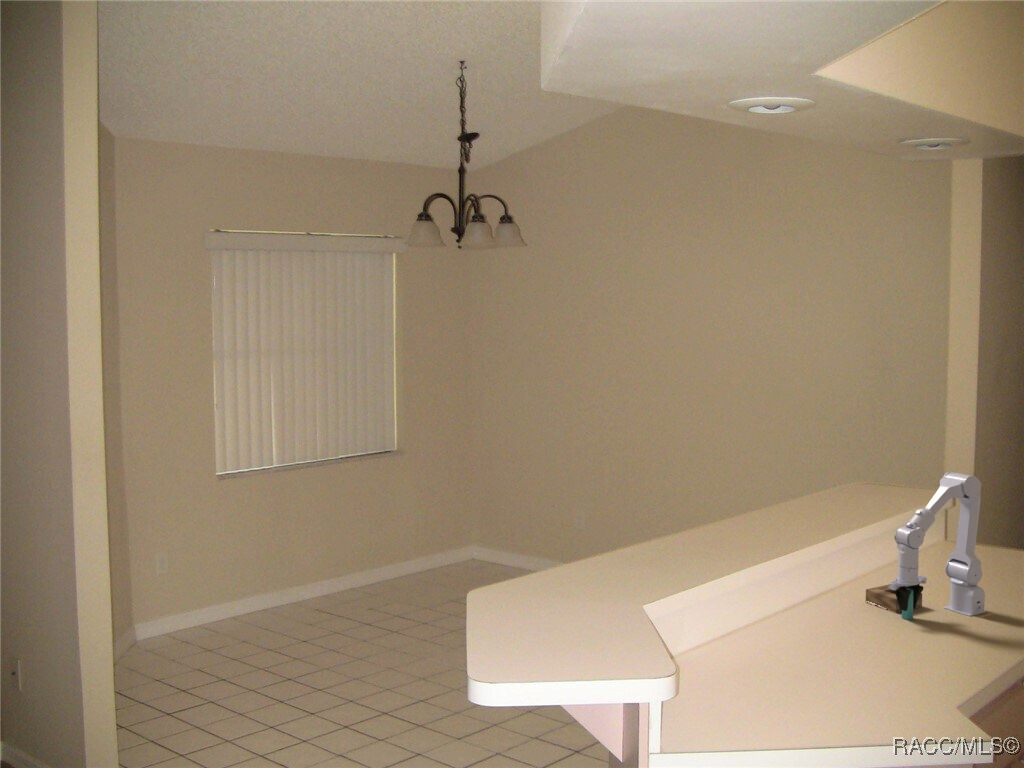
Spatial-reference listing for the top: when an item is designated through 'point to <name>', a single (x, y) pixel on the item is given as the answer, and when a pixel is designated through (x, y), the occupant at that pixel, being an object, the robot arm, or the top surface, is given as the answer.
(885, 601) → the socket block
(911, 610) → the peg
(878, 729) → the top surface
